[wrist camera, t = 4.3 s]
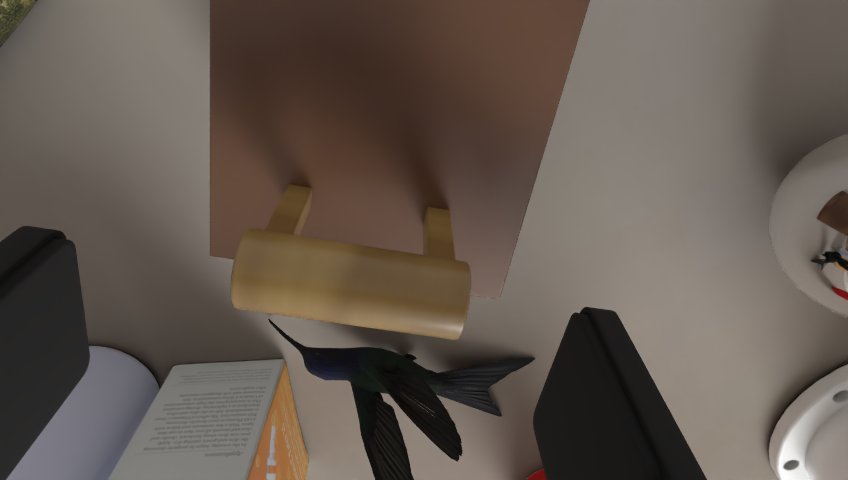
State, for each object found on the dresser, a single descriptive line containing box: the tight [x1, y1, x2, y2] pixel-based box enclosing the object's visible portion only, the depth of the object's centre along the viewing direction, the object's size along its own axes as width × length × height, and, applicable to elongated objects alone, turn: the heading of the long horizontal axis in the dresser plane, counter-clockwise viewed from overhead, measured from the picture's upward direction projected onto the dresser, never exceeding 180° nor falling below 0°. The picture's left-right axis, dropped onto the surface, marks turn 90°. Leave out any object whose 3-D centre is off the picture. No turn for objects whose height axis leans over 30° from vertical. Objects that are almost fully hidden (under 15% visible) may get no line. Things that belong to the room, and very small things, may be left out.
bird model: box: [268, 319, 535, 480], centre depth 29 cm, size 5×12×10 cm
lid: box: [210, 0, 590, 340], centre depth 13 cm, size 10×9×6 cm
